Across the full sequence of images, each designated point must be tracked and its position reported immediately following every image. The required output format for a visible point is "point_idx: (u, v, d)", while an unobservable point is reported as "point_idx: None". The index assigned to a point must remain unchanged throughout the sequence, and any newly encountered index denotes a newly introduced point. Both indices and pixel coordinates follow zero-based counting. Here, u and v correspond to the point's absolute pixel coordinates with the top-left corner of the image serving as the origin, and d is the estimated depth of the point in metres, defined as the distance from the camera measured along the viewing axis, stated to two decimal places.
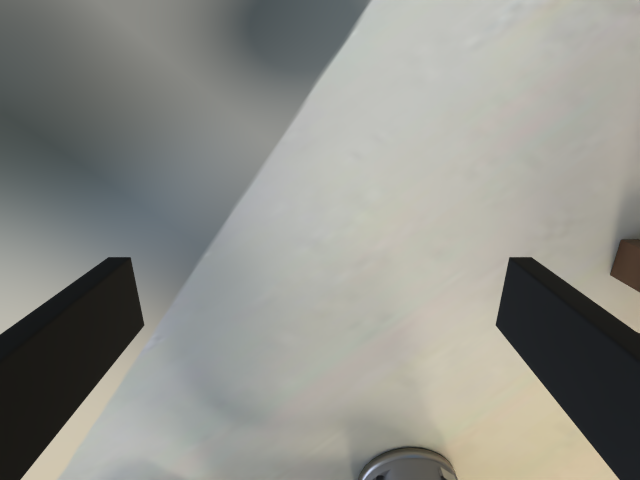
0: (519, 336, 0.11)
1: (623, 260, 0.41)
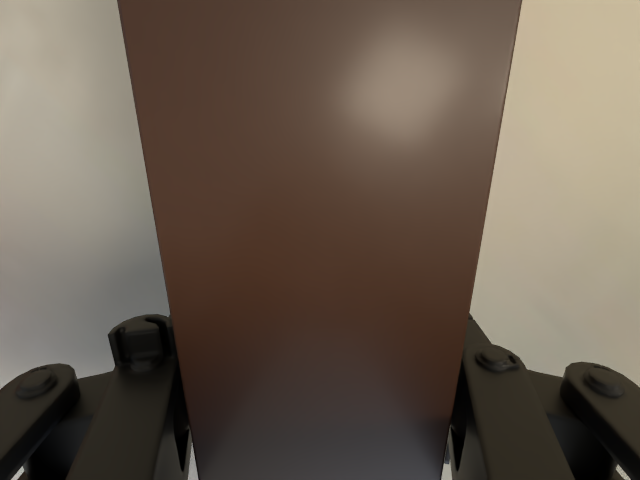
0: None
1: None
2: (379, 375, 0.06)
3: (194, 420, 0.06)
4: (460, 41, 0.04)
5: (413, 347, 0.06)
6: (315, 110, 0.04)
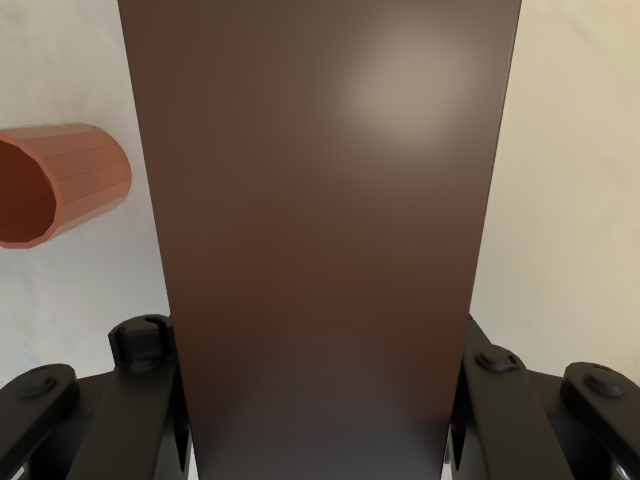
0: None
1: None
2: (379, 374, 0.06)
3: (194, 419, 0.06)
4: (460, 39, 0.04)
5: (413, 346, 0.06)
6: (315, 108, 0.04)
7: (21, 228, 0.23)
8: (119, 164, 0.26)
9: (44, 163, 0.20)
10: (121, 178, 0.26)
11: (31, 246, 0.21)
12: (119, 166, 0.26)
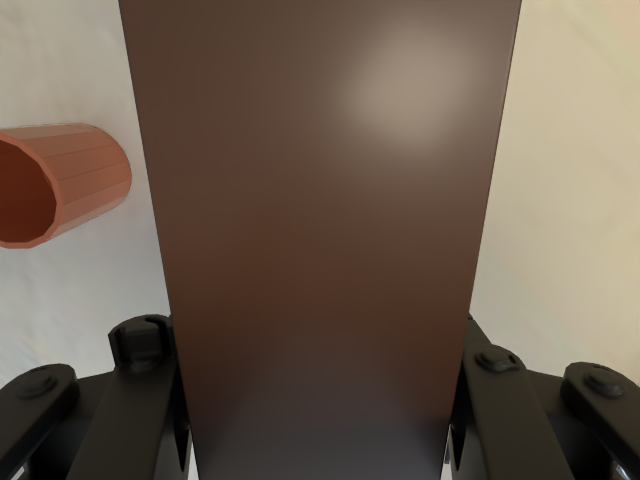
0: None
1: None
2: (380, 374, 0.06)
3: (194, 418, 0.06)
4: (460, 40, 0.04)
5: (413, 345, 0.06)
6: (315, 109, 0.04)
7: (21, 228, 0.23)
8: (119, 164, 0.26)
9: (44, 164, 0.20)
10: (121, 178, 0.26)
11: (32, 246, 0.21)
12: (119, 166, 0.26)
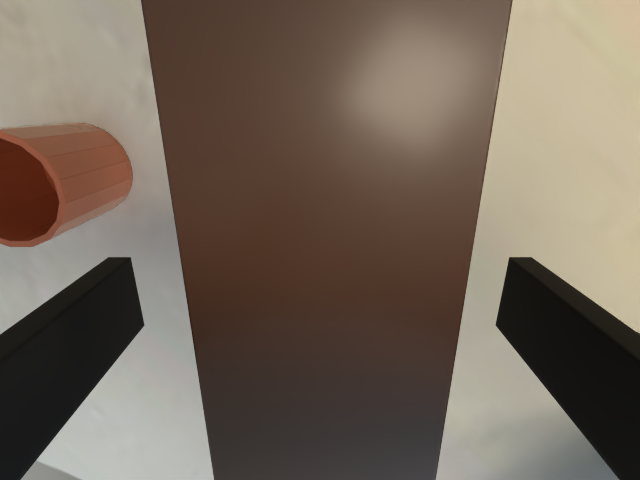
0: (519, 336, 0.12)
1: None
2: (381, 354, 0.06)
3: (207, 397, 0.07)
4: (456, 39, 0.05)
5: (413, 327, 0.06)
6: (322, 103, 0.05)
7: (24, 227, 0.23)
8: (120, 163, 0.26)
9: (47, 163, 0.20)
10: (122, 177, 0.27)
11: (34, 244, 0.22)
12: (120, 165, 0.26)
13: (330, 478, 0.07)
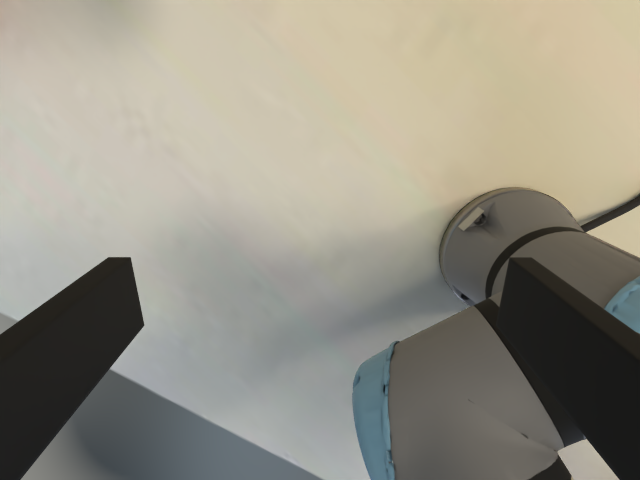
0: (519, 336, 0.12)
1: None
2: None
3: None
4: None
5: None
6: None
7: None
8: None
9: None
10: None
11: None
12: None
13: None
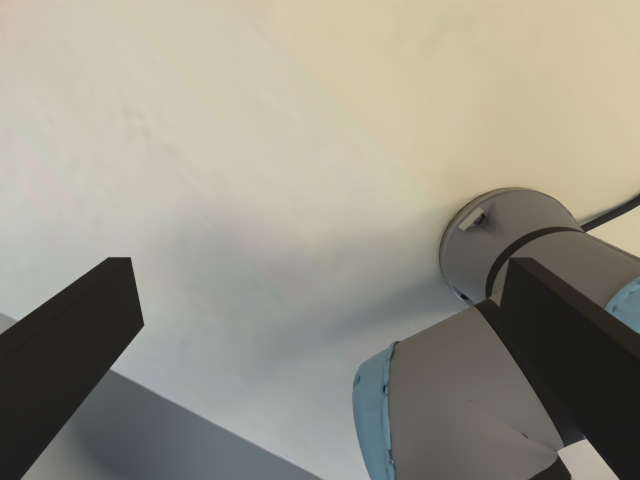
0: (519, 336, 0.12)
1: None
2: None
3: None
4: None
5: None
6: None
7: None
8: None
9: None
10: None
11: None
12: None
13: None
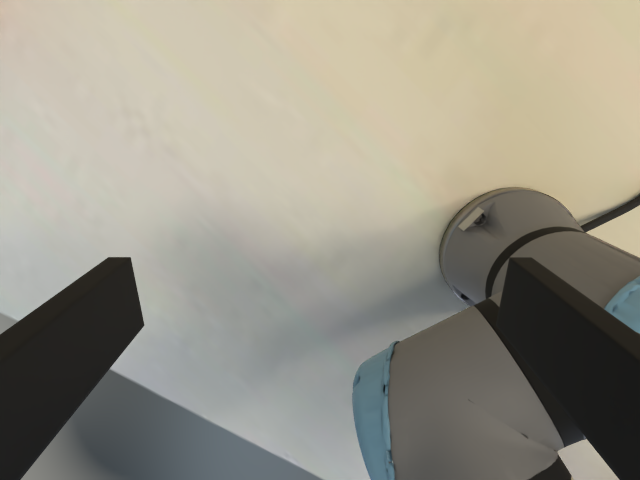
0: (519, 336, 0.12)
1: None
2: None
3: None
4: None
5: None
6: None
7: None
8: None
9: None
10: None
11: None
12: None
13: None
